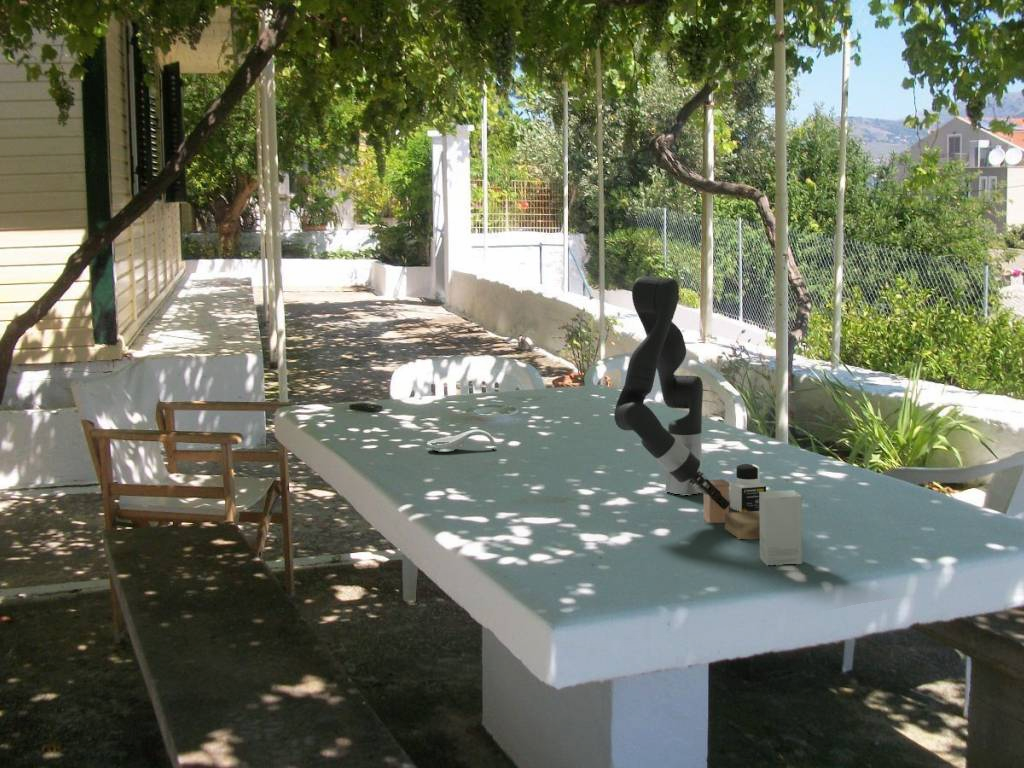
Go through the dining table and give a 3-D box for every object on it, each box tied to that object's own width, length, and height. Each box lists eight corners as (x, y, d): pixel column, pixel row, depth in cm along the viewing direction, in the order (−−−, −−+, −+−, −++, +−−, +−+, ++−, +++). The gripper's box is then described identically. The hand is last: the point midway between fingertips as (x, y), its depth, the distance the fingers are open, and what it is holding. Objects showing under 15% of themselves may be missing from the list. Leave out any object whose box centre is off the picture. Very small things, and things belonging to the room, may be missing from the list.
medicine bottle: (741, 513, 310) (741, 468, 309) (729, 507, 317) (729, 463, 316) (766, 511, 312) (766, 466, 311) (754, 505, 319) (754, 461, 318)
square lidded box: (709, 523, 301) (709, 484, 299) (702, 518, 306) (702, 480, 305) (729, 522, 301) (729, 483, 300) (722, 517, 307) (722, 479, 305)
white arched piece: (427, 455, 404) (427, 434, 403) (426, 449, 416) (425, 429, 415) (497, 452, 406) (496, 432, 406) (494, 446, 418) (493, 426, 417)
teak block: (740, 539, 284) (740, 523, 283) (724, 528, 295) (725, 513, 294) (784, 537, 285) (784, 520, 285) (767, 526, 296) (767, 510, 296)
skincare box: (794, 557, 268) (795, 489, 266) (803, 565, 261) (803, 495, 259) (757, 558, 267) (758, 490, 265) (765, 566, 261) (765, 496, 259)
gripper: (696, 454, 293) (743, 499, 296) (679, 444, 307) (724, 487, 310) (675, 476, 293) (722, 521, 296) (659, 465, 307) (704, 508, 310)
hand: (723, 503), depth 303 cm, fingers closed on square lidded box, 5 cm apart
